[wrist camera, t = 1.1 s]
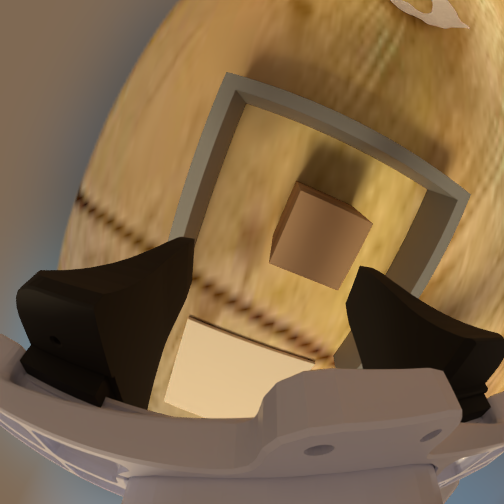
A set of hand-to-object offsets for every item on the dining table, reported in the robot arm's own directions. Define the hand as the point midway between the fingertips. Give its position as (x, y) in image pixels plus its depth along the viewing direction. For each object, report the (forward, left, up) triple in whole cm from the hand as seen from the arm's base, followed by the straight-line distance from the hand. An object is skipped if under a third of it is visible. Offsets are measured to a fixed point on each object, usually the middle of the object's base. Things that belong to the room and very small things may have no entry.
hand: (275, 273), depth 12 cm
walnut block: (-3, 0, -12) cm, 12 cm away
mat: (-3, +21, -12) cm, 24 cm away
